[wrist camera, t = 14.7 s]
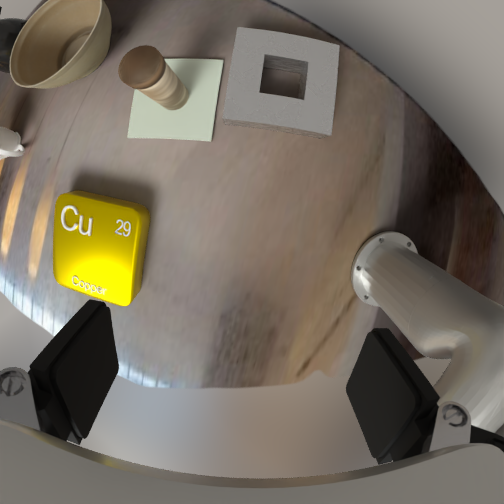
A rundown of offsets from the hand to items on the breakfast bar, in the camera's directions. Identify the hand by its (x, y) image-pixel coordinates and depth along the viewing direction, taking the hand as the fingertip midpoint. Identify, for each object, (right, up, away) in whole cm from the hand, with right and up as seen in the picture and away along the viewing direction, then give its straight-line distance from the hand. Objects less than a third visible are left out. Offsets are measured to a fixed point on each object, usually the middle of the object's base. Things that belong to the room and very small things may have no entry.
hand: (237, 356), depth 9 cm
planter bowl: (-26, +35, +20) cm, 48 cm away
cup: (-41, +22, +23) cm, 52 cm away
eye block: (+4, +26, +24) cm, 35 cm away
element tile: (-23, +5, +30) cm, 38 cm away
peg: (-10, +24, +23) cm, 35 cm away
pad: (-10, +25, +24) cm, 36 cm away
